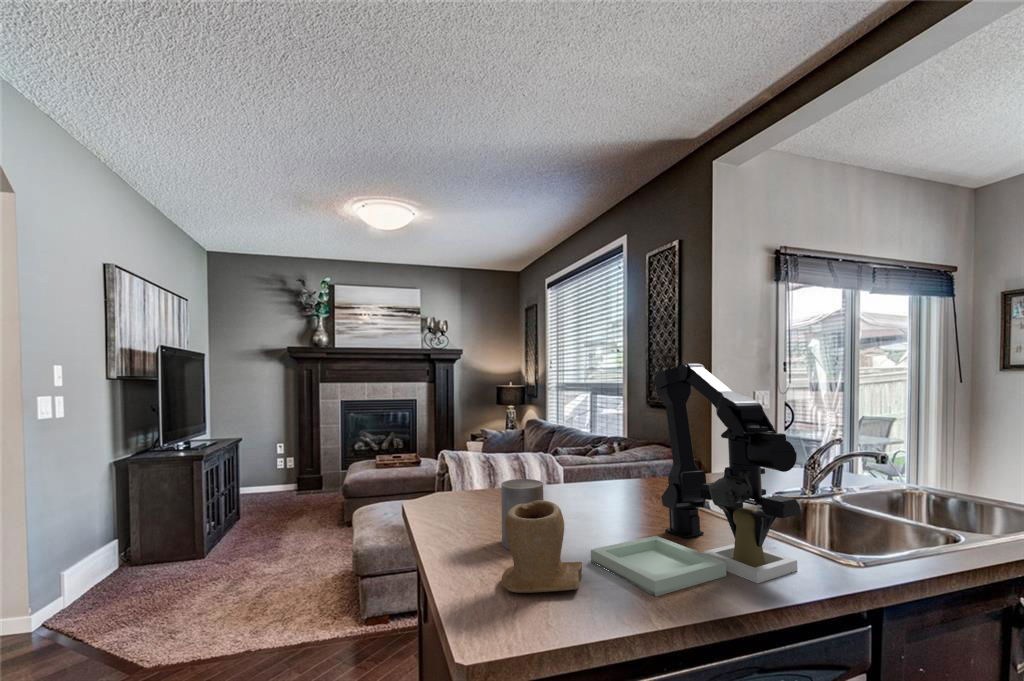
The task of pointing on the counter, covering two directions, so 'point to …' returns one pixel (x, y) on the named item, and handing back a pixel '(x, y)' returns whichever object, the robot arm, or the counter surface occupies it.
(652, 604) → the counter surface
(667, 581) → the tray
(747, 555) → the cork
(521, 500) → the pillar candle
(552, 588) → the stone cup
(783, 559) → the collar block
